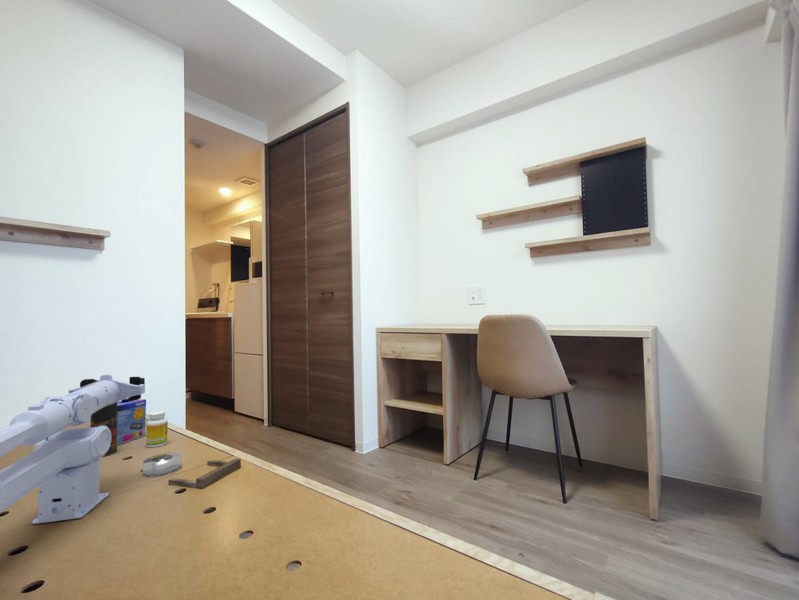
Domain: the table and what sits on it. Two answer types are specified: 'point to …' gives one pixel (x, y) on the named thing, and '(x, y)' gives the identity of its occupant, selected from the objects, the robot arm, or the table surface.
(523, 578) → the table surface
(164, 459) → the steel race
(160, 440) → the supplement bottle
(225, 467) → the cradle
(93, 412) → the robot arm
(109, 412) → the deodorant
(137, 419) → the ink cartridge box
